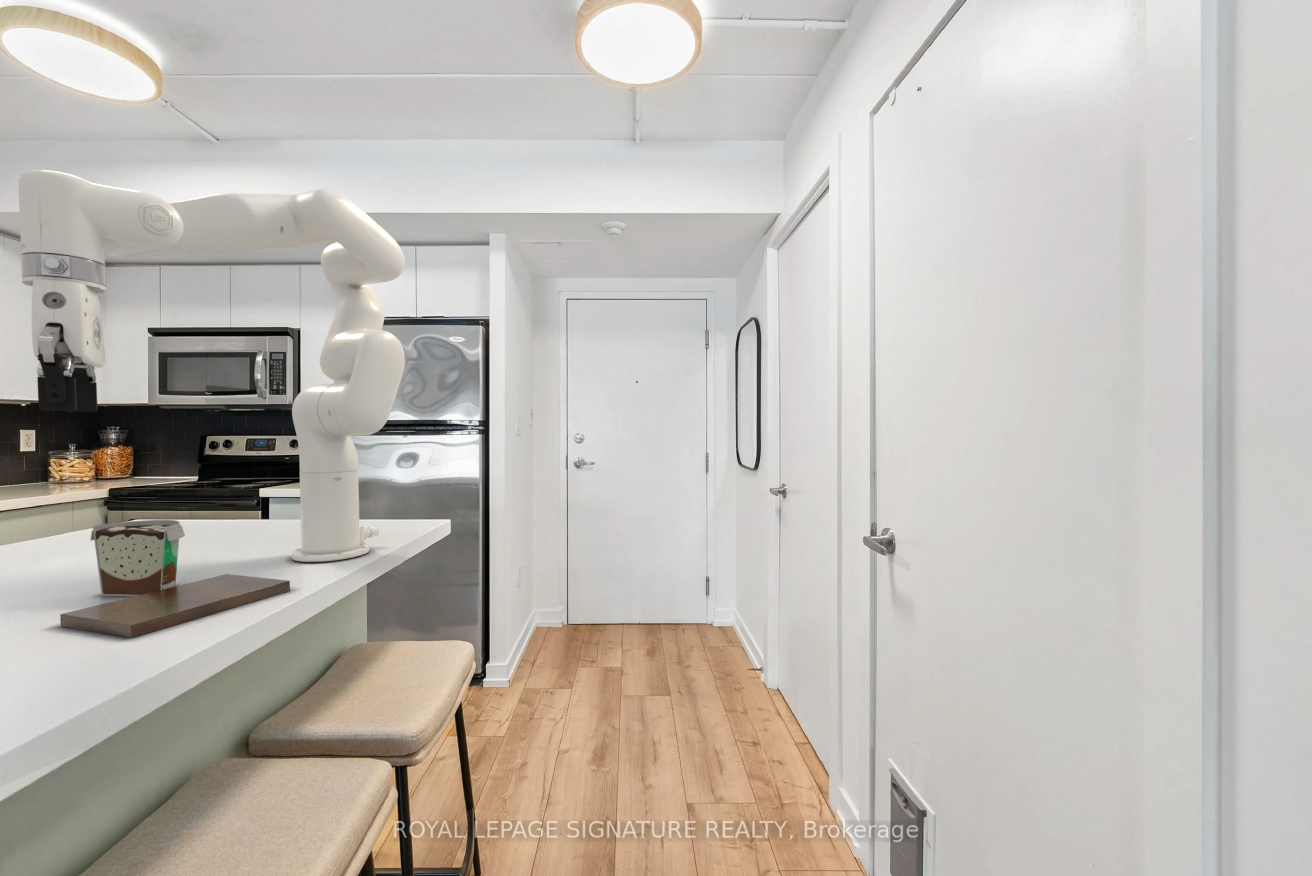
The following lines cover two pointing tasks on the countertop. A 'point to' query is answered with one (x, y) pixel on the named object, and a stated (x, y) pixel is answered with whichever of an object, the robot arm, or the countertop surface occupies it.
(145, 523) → the food container
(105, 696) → the countertop surface
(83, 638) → the countertop surface
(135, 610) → the cutting board
